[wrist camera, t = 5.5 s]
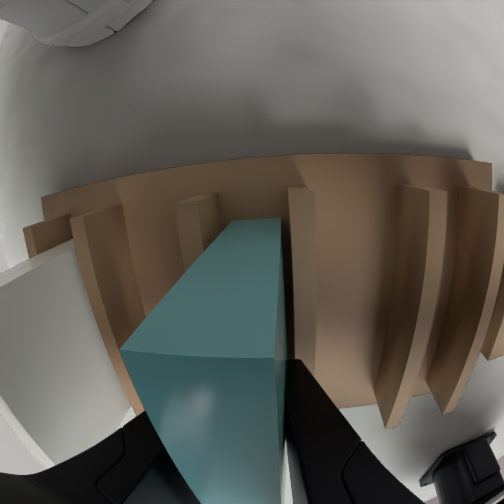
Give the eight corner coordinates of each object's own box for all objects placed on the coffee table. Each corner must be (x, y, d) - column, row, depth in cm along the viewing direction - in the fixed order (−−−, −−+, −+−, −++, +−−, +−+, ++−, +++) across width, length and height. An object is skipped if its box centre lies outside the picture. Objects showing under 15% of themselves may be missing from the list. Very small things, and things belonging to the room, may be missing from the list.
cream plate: (148, 376, 12) (82, 490, 5) (121, 372, 12) (51, 474, 5) (108, 232, 10) (-41, 312, 3) (79, 235, 10) (-57, 306, 3)
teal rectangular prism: (288, 383, 11) (282, 535, 4) (251, 383, 11) (223, 532, 5) (281, 217, 9) (274, 357, 2) (232, 220, 9) (119, 349, 3)
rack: (441, 373, 12) (466, 417, 8) (111, 380, 14) (83, 419, 11) (475, 162, 9) (531, 167, 5) (57, 193, 11) (2, 206, 7)
